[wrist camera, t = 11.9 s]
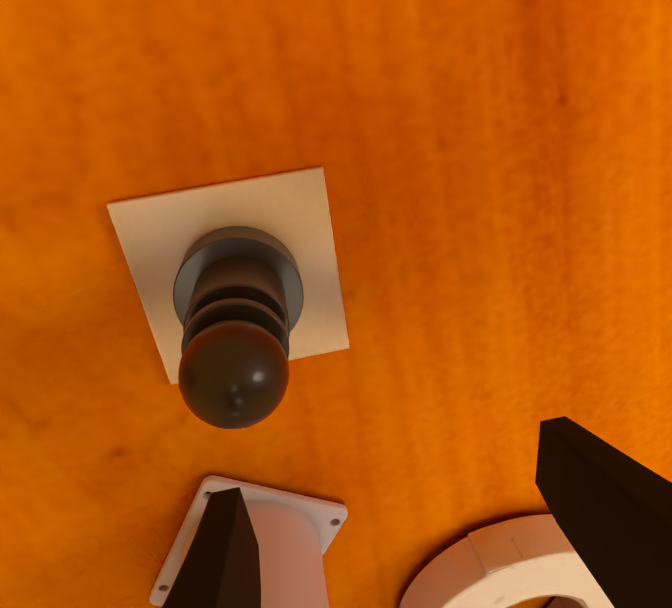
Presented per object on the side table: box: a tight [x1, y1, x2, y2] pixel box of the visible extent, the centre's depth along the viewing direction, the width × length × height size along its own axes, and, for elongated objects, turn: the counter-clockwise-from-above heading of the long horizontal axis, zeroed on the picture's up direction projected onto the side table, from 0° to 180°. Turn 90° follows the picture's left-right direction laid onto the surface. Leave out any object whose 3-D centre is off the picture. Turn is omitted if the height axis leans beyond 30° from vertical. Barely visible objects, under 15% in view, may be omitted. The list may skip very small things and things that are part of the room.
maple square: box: [106, 166, 349, 384], centre depth 19 cm, size 8×8×1 cm
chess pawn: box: [173, 226, 304, 429], centre depth 15 cm, size 5×5×8 cm
